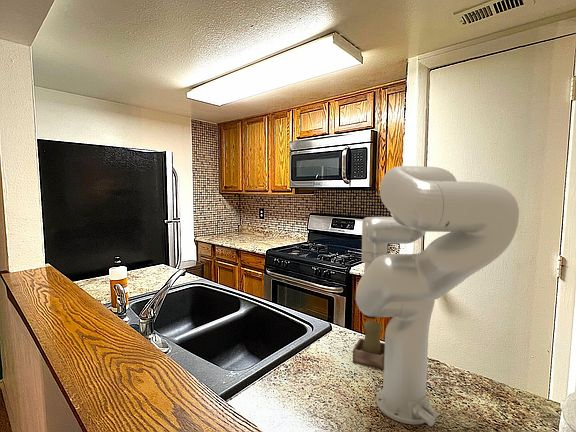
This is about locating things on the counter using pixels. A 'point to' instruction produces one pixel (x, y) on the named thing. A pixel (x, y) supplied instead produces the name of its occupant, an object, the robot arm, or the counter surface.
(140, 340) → the counter surface
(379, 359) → the shaker caddy
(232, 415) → the counter surface
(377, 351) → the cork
